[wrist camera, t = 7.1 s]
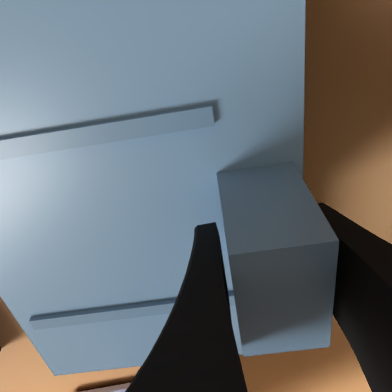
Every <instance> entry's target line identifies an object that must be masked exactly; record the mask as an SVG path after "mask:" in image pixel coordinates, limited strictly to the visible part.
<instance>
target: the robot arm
mask: <svg viewBox="0 0 392 392" xmlns="http://www.w3.org/2000/svg"><path fill="white" fill-rule="evenodd" d="M317 204H318V205H319V207H320V209H321V211H322V212H323V214H324V216H325V217H326V219H327V221H328V222H329V224H330V226H331V228H332V229H333V231H334V233H335V234H336V236H337V238H338V239H339V249H338V260H337V271H336V282H335V293H334V305H333V315H334V317H335V319H336V320H337V322H338V324H339V326H340V327H341V329H342V331H343V333H344V334H345V336H346V338H347V340H348V341H349V343H350V345H351V347H352V349H353V351H354V353H355V355H356V357H357V359H358V361H359V364H360V366H361V368H362V370H363V373H364V375H365V377H366V379H367V381H368V384H369V386H370V388H371V391H372V392H392V244H390V243H388V242H387V241H385V240H383V239H381V238H380V237H378V236H376V235H374V234H373V233H371V232H369V231H368V230H366V229H364V228H363V227H361V226H359V225H358V224H356V223H355V222H353V221H351V220H350V219H348V218H347V217H345V216H343V215H342V214H340V213H339V212H337V211H336V210H334V209H332V208H331V207H329V206H328V205H326V204H324V203H317ZM80 392H247V388H246V383H245V379H244V375H243V371H242V366H241V362H240V358H239V353H238V349H237V345H236V340H235V336H234V332H233V327H232V320H231V311H230V302H229V294H228V287H227V281H226V275H225V268H224V262H223V255H222V249H221V242H220V236H219V232H218V228H217V225H216V222H213V223H207V224H202V225H197V226H196V227H195V229H194V240H193V246H192V251H191V256H190V259H189V263H188V266H187V270H186V273H185V277H184V279H183V282H182V285H181V288H180V291H179V293H178V296H177V299H176V301H175V303H174V306H173V308H172V310H171V313H170V315H169V317H168V319H167V321H166V323H165V325H164V327H163V329H162V331H161V333H160V335H159V337H158V339H157V341H156V343H155V344H154V346H153V348H152V350H151V351H150V353H149V355H148V357H147V358H146V360H145V361H144V363H143V365H142V366H141V368H140V369H139V371H138V372H137V374H136V376H135V377H134V379H133V380H132V382H131V383H125V384H119V385H114V386H108V387H103V388H97V389H92V390H86V391H80Z"/></svg>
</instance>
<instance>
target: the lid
mask: <svg viewBox="0 0 392 392" xmlns="http://www.w3.org/2000/svg"><path fill="white" fill-rule="evenodd" d="M305 3H306V0H0V297H1V298H2V300H3V301H4V302H5V304H6V305H7V307H8V308H9V310H10V311H11V313H12V314H13V316H14V317H15V319H16V320H17V322H18V323H19V325H20V326H21V327H22V329H23V330H24V332H25V333H26V335H27V336H28V338H29V339H30V341H31V342H32V344H33V345H34V347H35V348H36V350H37V351H38V353H39V354H40V355H41V357H42V358H43V360H44V361H45V363H46V364H47V366H48V367H49V369H50V370H51V372H52V373H53V375H54V376H56V375H65V374H74V373H83V372H91V371H100V370H109V369H118V368H127V367H135V366H142V365H143V363H144V361H145V360H146V358H147V357H148V355H149V353H150V351H151V350H152V348H153V346H154V344H155V343H156V341H157V339H158V337H159V335H160V333H161V331H162V329H163V327H164V325H165V323H166V321H167V319H168V317H169V315H170V313H171V310H172V308H173V306H174V303H175V301H176V299H177V296H178V293H179V291H180V288H181V285H182V282H183V279H184V277H185V273H186V270H187V266H188V263H189V259H190V256H191V251H192V246H193V240H194V229H195V227H196V226H197V225H202V224H207V223H213V222H216V225H217V228H218V232H219V236H220V242H221V249H222V255H223V262H224V268H225V275H226V281H227V287H228V294H229V302H230V311H231V320H232V327H233V332H234V336H235V340H236V345H237V349H238V353H239V355H241V354H243V357H245V356H254V355H263V354H272V353H280V352H289V351H298V350H307V349H316V348H324V347H330V338H331V327H332V316H333V305H334V293H335V282H336V271H337V260H338V249H339V239H338V238H337V236H336V234H335V233H334V231H333V229H332V228H331V226H330V224H329V222H328V221H327V219H326V217H325V216H324V214H323V212H322V211H321V209H320V207H319V205H318V204H317V202H316V200H315V199H314V197H313V195H312V194H311V192H310V190H309V189H308V187H307V185H306V183H305V182H304V180H303V149H304V76H305Z"/></svg>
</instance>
